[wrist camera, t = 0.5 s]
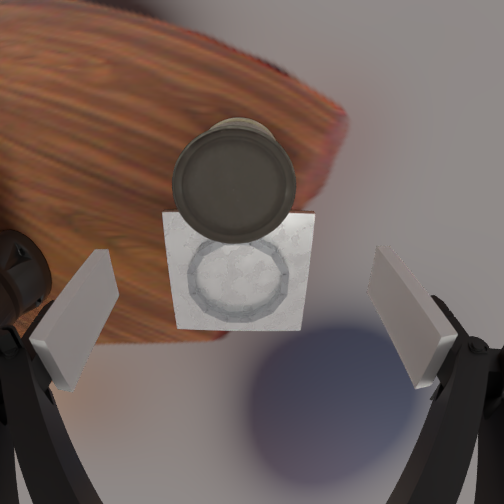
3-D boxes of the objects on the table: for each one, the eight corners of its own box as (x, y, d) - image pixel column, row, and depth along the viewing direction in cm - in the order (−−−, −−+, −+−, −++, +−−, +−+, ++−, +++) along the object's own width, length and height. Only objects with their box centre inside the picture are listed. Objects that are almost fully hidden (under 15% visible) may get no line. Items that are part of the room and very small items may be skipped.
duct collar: (178, 324, 50) (175, 334, 48) (163, 209, 41) (159, 216, 38) (299, 326, 50) (301, 336, 48) (313, 211, 41) (317, 218, 39)
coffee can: (296, 166, 38) (319, 201, 26) (230, 210, 41) (222, 265, 29) (247, 100, 34) (246, 99, 22) (181, 150, 37) (147, 177, 25)
